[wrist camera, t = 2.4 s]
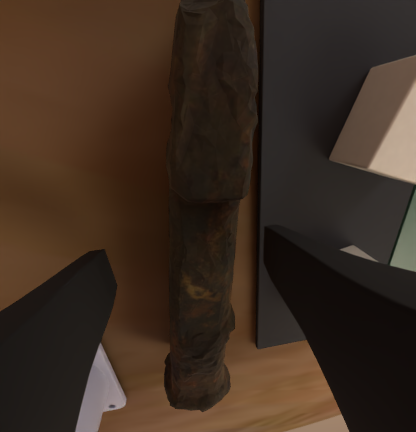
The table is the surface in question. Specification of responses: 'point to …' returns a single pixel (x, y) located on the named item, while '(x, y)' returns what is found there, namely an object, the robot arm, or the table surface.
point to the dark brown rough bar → (206, 189)
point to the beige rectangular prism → (383, 123)
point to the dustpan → (406, 238)
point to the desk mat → (322, 134)
